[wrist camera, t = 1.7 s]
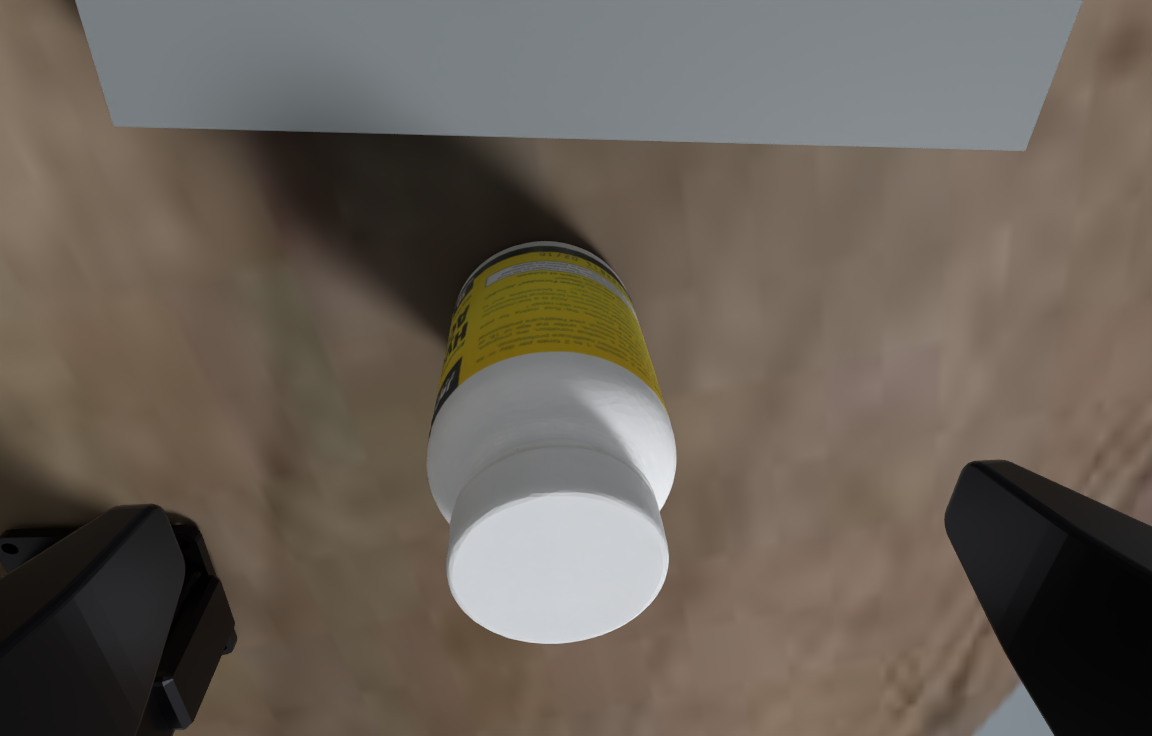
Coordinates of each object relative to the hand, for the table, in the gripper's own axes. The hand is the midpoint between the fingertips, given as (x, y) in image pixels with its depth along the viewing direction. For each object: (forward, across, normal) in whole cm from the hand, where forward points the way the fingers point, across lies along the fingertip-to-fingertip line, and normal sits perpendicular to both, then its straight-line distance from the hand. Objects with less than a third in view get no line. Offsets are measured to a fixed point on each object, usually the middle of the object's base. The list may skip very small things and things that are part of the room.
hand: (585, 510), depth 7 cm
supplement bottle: (+13, 0, +4) cm, 13 cm away
